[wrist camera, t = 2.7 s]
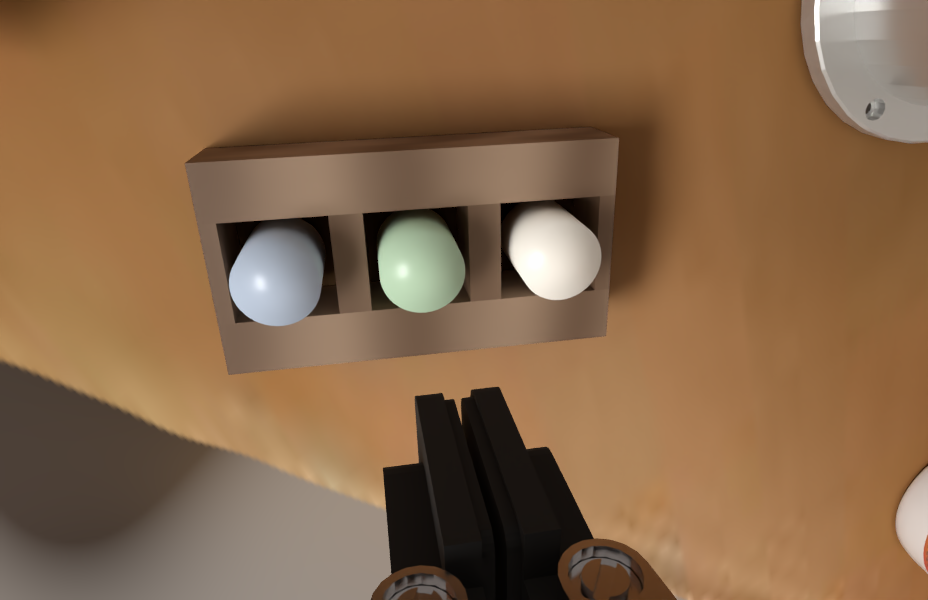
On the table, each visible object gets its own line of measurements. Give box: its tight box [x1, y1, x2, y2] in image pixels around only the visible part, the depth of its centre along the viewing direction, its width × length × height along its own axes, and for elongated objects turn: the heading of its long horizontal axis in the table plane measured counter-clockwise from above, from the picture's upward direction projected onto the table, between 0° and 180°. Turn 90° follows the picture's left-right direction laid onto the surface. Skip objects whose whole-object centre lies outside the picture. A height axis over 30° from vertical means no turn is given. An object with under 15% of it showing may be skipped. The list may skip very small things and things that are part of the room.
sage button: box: [377, 209, 465, 313], centre depth 23 cm, size 3×3×4 cm
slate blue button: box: [229, 218, 326, 326], centre depth 23 cm, size 3×3×4 cm
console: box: [185, 127, 619, 375], centre depth 24 cm, size 15×8×3 cm, turn 92°
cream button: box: [501, 200, 601, 300], centre depth 24 cm, size 3×3×4 cm
